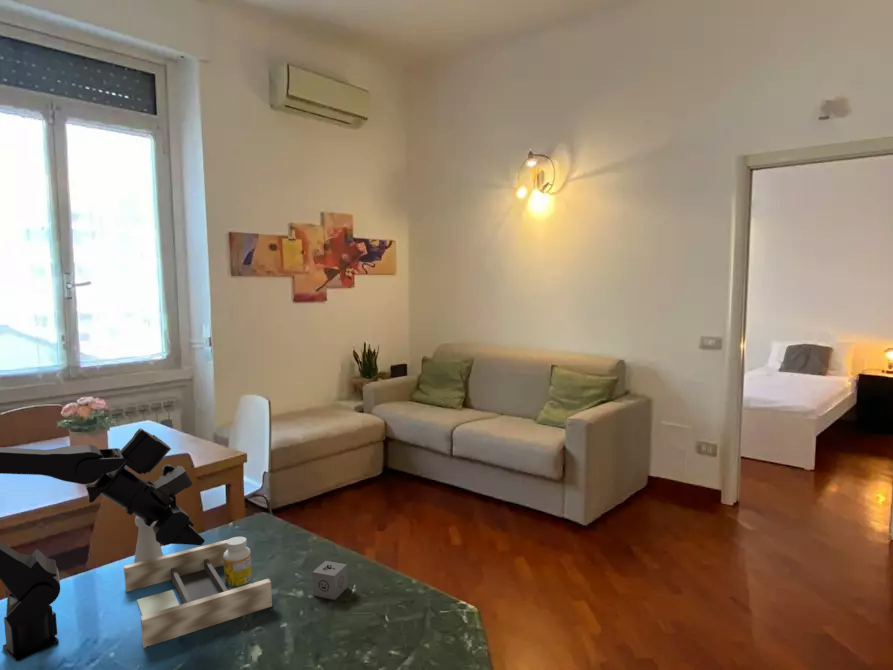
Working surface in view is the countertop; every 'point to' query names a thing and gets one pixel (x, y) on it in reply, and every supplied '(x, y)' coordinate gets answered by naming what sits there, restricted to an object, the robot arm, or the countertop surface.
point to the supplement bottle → (237, 563)
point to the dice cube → (329, 580)
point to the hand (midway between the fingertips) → (197, 534)
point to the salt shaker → (146, 542)
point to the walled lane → (191, 593)
